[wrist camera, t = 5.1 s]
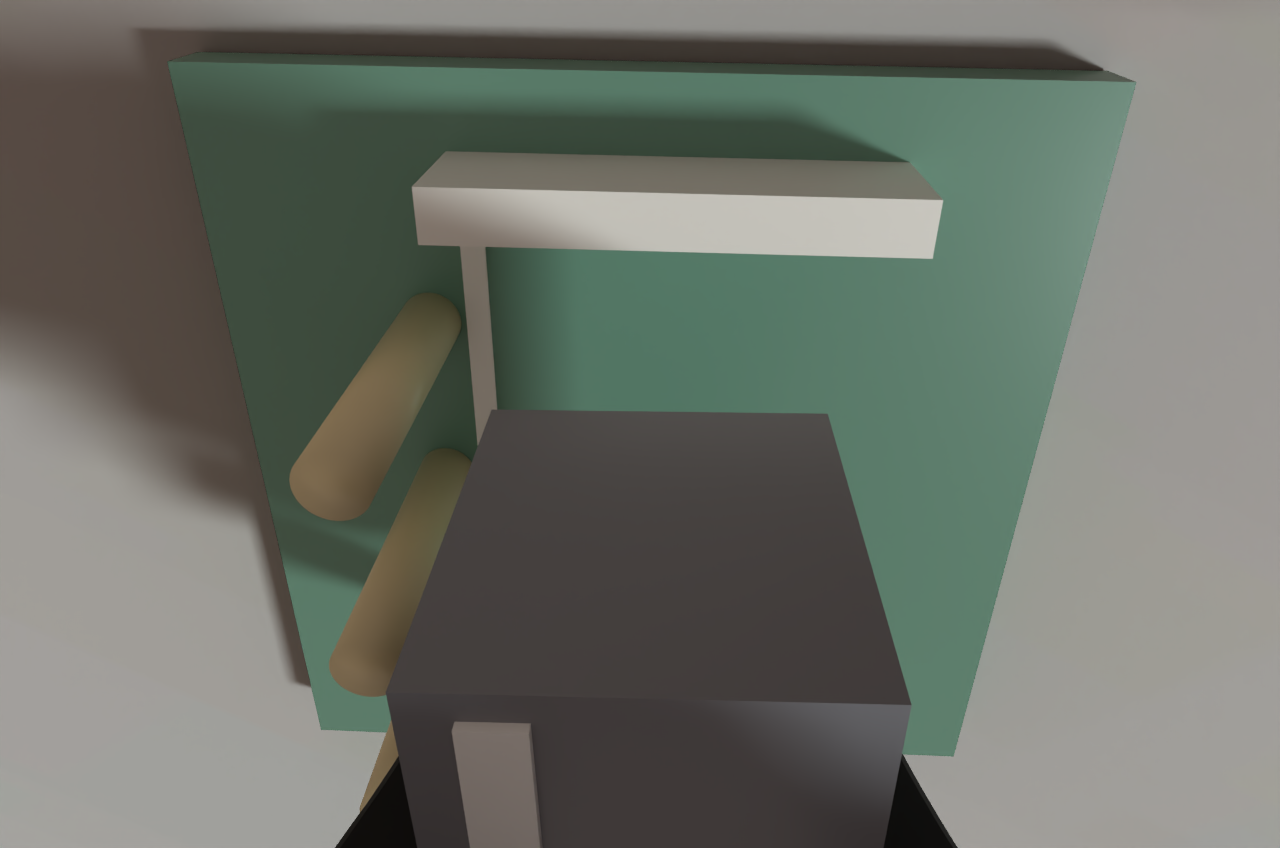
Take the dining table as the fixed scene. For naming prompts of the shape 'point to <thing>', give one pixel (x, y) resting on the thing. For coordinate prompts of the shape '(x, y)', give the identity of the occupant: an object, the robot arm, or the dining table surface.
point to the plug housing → (651, 642)
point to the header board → (643, 301)
